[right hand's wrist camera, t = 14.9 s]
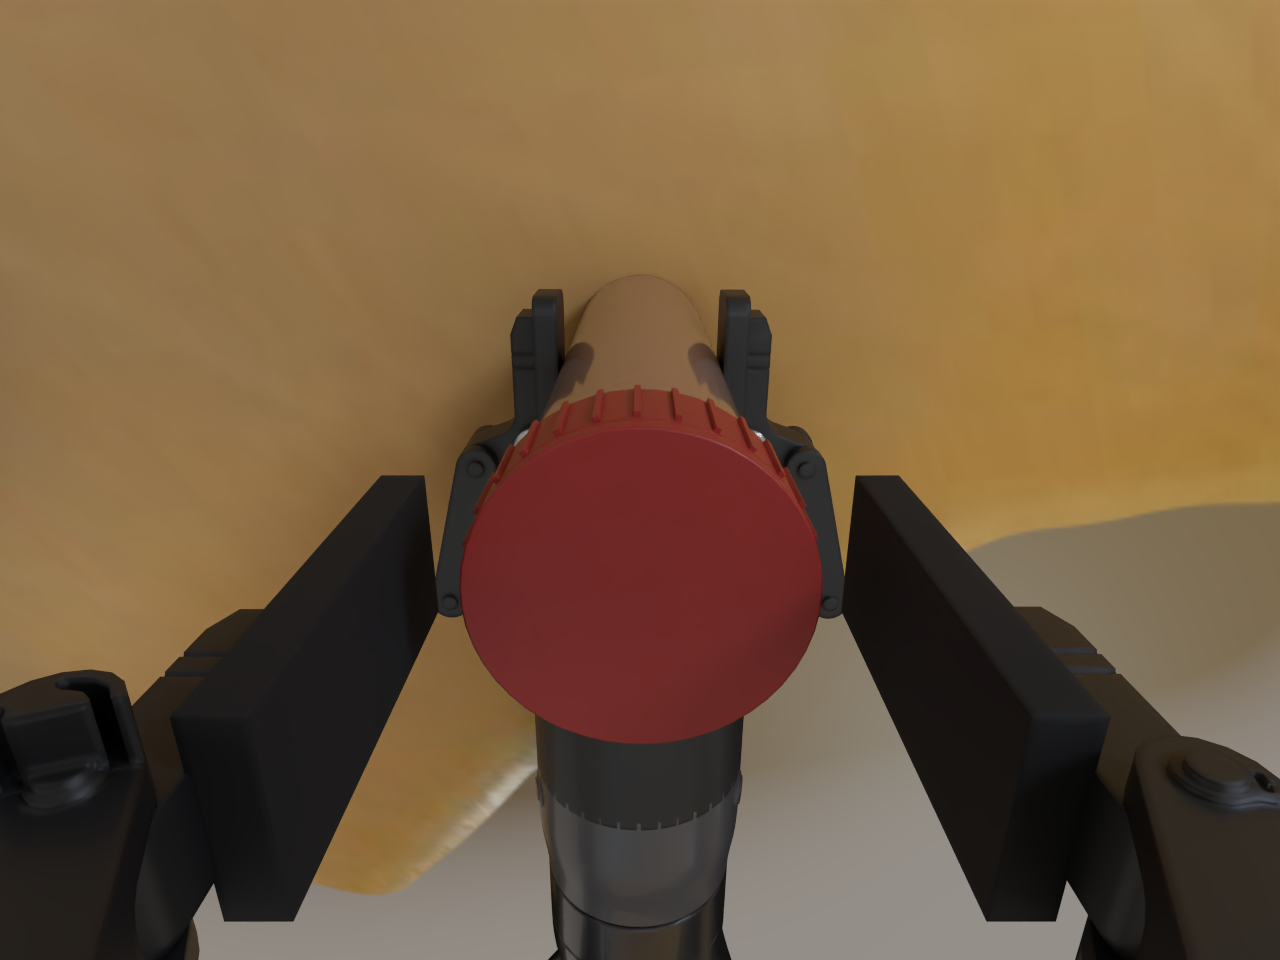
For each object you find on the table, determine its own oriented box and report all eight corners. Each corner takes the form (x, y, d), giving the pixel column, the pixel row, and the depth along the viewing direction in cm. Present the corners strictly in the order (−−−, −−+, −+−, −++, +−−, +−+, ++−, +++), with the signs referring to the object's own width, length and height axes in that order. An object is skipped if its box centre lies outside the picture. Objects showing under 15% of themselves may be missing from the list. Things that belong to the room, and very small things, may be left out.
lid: (650, 722, 15) (651, 804, 13) (416, 548, 14) (378, 610, 12) (868, 529, 14) (905, 589, 12) (628, 310, 12) (626, 337, 10)
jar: (644, 422, 31) (650, 757, 13) (552, 342, 30) (425, 593, 12) (728, 334, 30) (859, 576, 12) (636, 247, 28) (629, 372, 11)
